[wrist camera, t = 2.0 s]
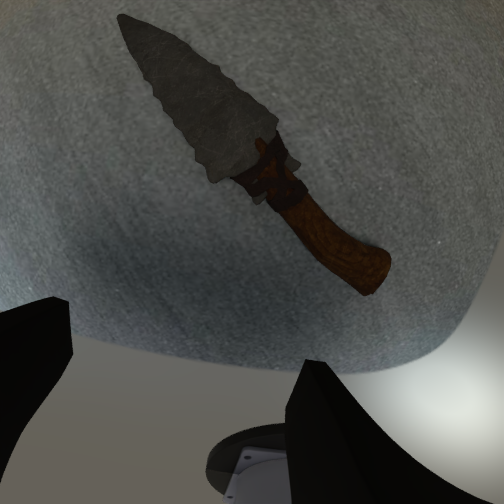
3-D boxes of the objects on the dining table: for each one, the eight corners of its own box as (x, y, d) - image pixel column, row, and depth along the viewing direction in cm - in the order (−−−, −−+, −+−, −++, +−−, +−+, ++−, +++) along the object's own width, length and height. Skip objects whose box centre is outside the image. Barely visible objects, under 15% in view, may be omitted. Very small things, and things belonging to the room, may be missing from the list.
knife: (411, 277, 12) (314, 351, 11) (383, 271, 14) (296, 334, 13) (206, -37, 9) (102, 3, 9) (203, -9, 11) (111, 30, 11)
